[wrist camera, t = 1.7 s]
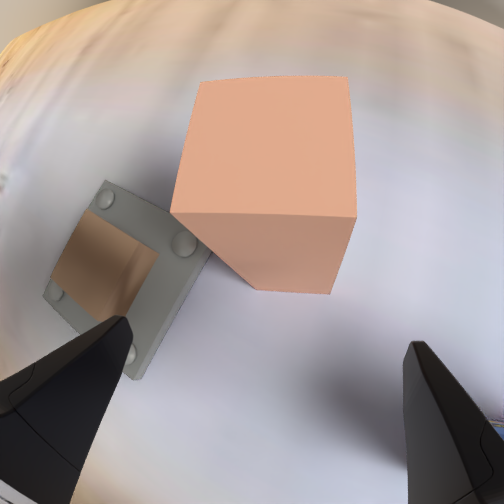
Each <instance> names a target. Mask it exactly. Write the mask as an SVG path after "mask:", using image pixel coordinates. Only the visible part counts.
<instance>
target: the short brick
mask: <svg viewBox="0 0 504 504" xmlns="http://www.w3.org/2000/svg"><path fill="white" fill-rule="evenodd" d="M158 256H159V253H157V252H155V251H154V250H152V249H150V248H149V247H147V246H146V245H144V244H142V243H141V242H139V241H137V240H136V239H134V238H133V237H131V236H129V235H128V234H126V233H125V232H123V231H121V230H120V229H118V228H117V227H115V226H114V225H112V224H110V223H109V222H107V221H106V220H104V219H102V218H101V217H99V216H98V215H96V214H94V213H93V212H91V211H90V210H88V209H86V210H85V212H84V214H83V216H82V217H81V219H80V221H79V223H78V224H77V226H76V228H75V230H74V232H73V233H72V235H71V237H70V239H69V241H68V243H67V245H66V247H65V249H64V250H63V252H62V254H61V256H60V258H59V260H58V262H57V264H56V266H55V268H54V270H53V273H52V275H51V277H50V278H51V279H52V280H53V281H54V282H55V283H57V284H58V285H59V286H60V287H61V288H62V289H63V290H64V291H65V292H66V293H67V294H68V295H69V296H70V297H71V298H72V299H73V300H74V301H75V302H77V303H78V304H79V305H80V306H81V307H82V308H83V309H84V310H85V311H86V312H88V313H89V314H90V315H91V316H92V317H93V318H94V319H96V320H97V321H101V322H103V321H105V320H107V319H108V318H110V317H112V316H113V315H122V316H126V314H127V312H128V310H129V308H130V307H131V305H132V303H133V301H134V299H135V297H136V295H137V294H138V292H139V290H140V288H141V286H142V284H143V283H144V281H145V279H146V277H147V275H148V274H149V272H150V270H151V268H152V266H153V265H154V263H155V261H156V259H157V258H158Z"/></svg>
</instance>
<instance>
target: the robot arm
mask: <svg viewBox="0 0 504 504" xmlns="http://www.w3.org/2000/svg"><path fill="white" fill-rule="evenodd" d="M132 342H133V332H132V329H131V327H130V324H129V321H128V319H127V318H126V316H122V315H113V316H112V317H110V318H108V319H107V320H105V321H103V322H101V323H100V324H98V325H96V326H95V327H93V328H91V329H90V330H88V331H86V332H85V333H83V334H81V335H80V336H78V337H76V338H74V339H73V340H71V341H69V342H68V343H66V344H64V345H63V346H61V347H59V348H58V349H56V350H54V351H53V352H51V353H49V354H48V355H46V356H44V357H43V358H41V359H39V360H38V361H36V362H34V363H33V364H31V365H30V366H28V367H26V368H24V369H23V370H21V371H19V372H18V373H16V374H14V375H12V376H10V377H8V378H6V379H4V380H2V381H0V504H69V503H70V501H71V498H72V495H73V492H74V490H75V487H76V484H77V481H78V479H79V476H80V473H81V470H82V468H83V465H84V463H85V460H86V458H87V455H88V452H89V450H90V447H91V445H92V443H93V440H94V438H95V435H96V433H97V430H98V428H99V425H100V423H101V421H102V418H103V416H104V414H105V411H106V409H107V407H108V404H109V402H110V400H111V397H112V395H113V393H114V391H115V388H116V386H117V384H118V382H119V379H120V377H121V374H122V371H123V369H124V365H125V362H126V359H127V356H128V354H129V351H130V348H131V345H132ZM403 413H404V425H405V437H406V451H407V471H408V504H504V440H503V439H502V437H501V436H500V435H499V433H498V432H497V431H496V430H495V428H494V427H493V426H492V424H491V423H490V422H489V420H488V419H487V420H486V417H485V415H484V414H483V413H482V411H481V410H480V409H479V407H478V406H477V405H476V404H475V402H474V401H473V400H472V398H471V397H470V396H469V395H468V393H467V392H466V391H465V390H464V388H463V387H462V386H461V385H460V383H459V382H458V381H457V380H456V378H455V377H454V376H453V375H452V373H451V372H450V371H449V370H448V369H447V367H446V366H445V365H444V364H443V363H442V361H441V360H440V359H439V358H438V357H437V355H436V354H435V353H434V352H433V351H432V349H431V348H430V347H429V346H428V345H427V344H426V343H425V342H424V341H412V342H411V343H410V344H409V347H408V350H407V352H406V355H405V358H404V361H403Z"/></svg>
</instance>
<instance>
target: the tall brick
mask: <svg viewBox="0 0 504 504" xmlns="http://www.w3.org/2000/svg"><path fill="white" fill-rule="evenodd" d="M170 213H171V214H172V215H173V216H174V217H175V218H176V219H177V220H178V221H179V222H180V223H182V224H183V225H184V226H185V227H186V228H187V229H188V230H189V231H190V232H192V233H193V234H194V235H195V236H196V237H197V238H198V239H199V240H200V241H202V242H203V243H204V244H205V245H206V246H207V247H208V248H209V249H211V250H212V251H213V252H214V253H215V254H216V255H217V256H218V257H219V258H221V259H222V260H223V261H224V262H225V263H226V264H227V265H229V266H230V267H231V268H232V269H233V270H234V271H235V272H236V273H238V274H239V275H240V276H241V277H242V278H243V279H244V280H246V281H247V282H248V283H249V284H250V285H251V286H252V287H254V288H255V289H256V290H265V291H280V292H296V293H313V294H330V292H331V290H332V287H333V284H334V282H335V279H336V276H337V274H338V271H339V268H340V265H341V263H342V260H343V257H344V254H345V251H346V248H347V246H348V243H349V240H350V237H351V234H352V231H353V228H354V225H355V222H356V219H357V199H356V171H355V153H354V138H353V125H352V113H351V103H350V94H349V85H348V77H337V76H270V77H250V78H237V79H225V80H215V81H206V82H200V86H199V89H198V93H197V96H196V100H195V104H194V108H193V111H192V115H191V119H190V123H189V127H188V131H187V135H186V139H185V143H184V148H183V152H182V156H181V161H180V165H179V170H178V174H177V179H176V183H175V188H174V193H173V198H172V203H171V208H170Z"/></svg>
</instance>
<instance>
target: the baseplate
mask: <svg viewBox="0 0 504 504" xmlns="http://www.w3.org/2000/svg"><path fill="white" fill-rule="evenodd" d="M88 210H90V211H91V212H93V213H94V214H96V215H98V216H99V217H101V218H102V219H104V220H106V221H107V222H109V223H110V224H112V225H114V226H115V227H117V228H118V229H120V230H121V231H123V232H125V233H126V234H128V235H129V236H131V237H133V238H134V239H136V240H137V241H139V242H141V243H142V244H144V245H146V246H147V247H149V248H150V249H152V250H154V251H155V252H157V253H159V256H158V258H157V259H156V261H155V263H154V265H153V266H152V268H151V270H150V272H149V274H148V275H147V277H146V279H145V281H144V283H143V284H142V286H141V288H140V290H139V292H138V294H137V295H136V297H135V299H134V301H133V303H132V305H131V307H130V308H129V310H128V312H127V314H126V318H127V319H128V321H129V324H130V327H131V329H132V332H133V342H132V345H131V348H130V351H129V354H128V356H127V359H126V362H125V365H124V369H123V371H122V372H123V373H125V374H126V375H127V376H128V377H129V378H131V379H132V380H139V379H142V377H143V375H144V373H145V371H146V369H147V367H148V365H149V364H150V362H151V360H152V358H153V356H154V354H155V352H156V351H157V349H158V347H159V345H160V343H161V341H162V340H163V338H164V336H165V334H166V332H167V330H168V329H169V327H170V325H171V323H172V321H173V320H174V318H175V316H176V314H177V312H178V311H179V309H180V307H181V305H182V303H183V302H184V300H185V298H186V296H187V294H188V293H189V291H190V289H191V287H192V286H193V284H194V282H195V280H196V279H197V277H198V275H199V273H200V272H201V270H202V268H203V266H204V265H205V263H206V261H207V259H208V258H209V256H210V254H211V253H212V250H211V249H209V248H208V247H207V246H206V245H205V244H204V243H203V242H202V241H200V240H199V239H198V238H197V237H196V236H195V235H194V234H193V233H192V232H190V231H189V230H188V229H187V228H186V227H185V226H184V225H183V224H182V223H180V222H179V221H178V220H177V219H176V218H175V217H174V216H173V215H172V214H170V213H168V212H167V211H165V210H163V209H161V208H159V207H157V206H155V205H153V204H151V203H149V202H147V201H145V200H143V199H141V198H139V197H138V196H136V195H134V194H132V193H130V192H128V191H126V190H124V189H122V188H120V187H118V186H116V185H114V184H112V183H111V182H109V181H107V180H105V181H104V183H103V185H102V186H101V188H100V189H99V191H98V193H97V194H96V196H95V197H94V199H93V201H92V202H91V204H90V206H89V207H88ZM43 297H44V298H45V300H46V301H47V302H48V303H49V304H50V305H51V306H52V307H53V308H54V309H55V310H56V311H57V312H58V313H59V314H60V315H61V316H62V317H63V318H64V319H65V320H66V321H67V322H68V323H69V324H70V325H71V326H72V327H73V328H74V329H75V330H76V331H77V332H78V333H79V334H80V335H81V334H83V333H85V332H86V331H88V330H90V329H91V328H93V327H95V326H96V325H98V324H100V323H101V321H97V320H96V319H94V318H93V317H92V316H91V315H90V314H89V313H88V312H86V311H85V310H84V309H83V308H82V307H81V306H80V305H79V304H78V303H77V302H75V301H74V300H73V299H72V298H71V297H70V296H69V295H68V294H67V293H66V292H65V291H64V290H63V289H62V288H61V287H60V286H59V285H58V284H57V283H55V282H54V281H53V280H52V279H50V281H49V283H48V286H47V288H46V290H45V292H44V294H43Z"/></svg>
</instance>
